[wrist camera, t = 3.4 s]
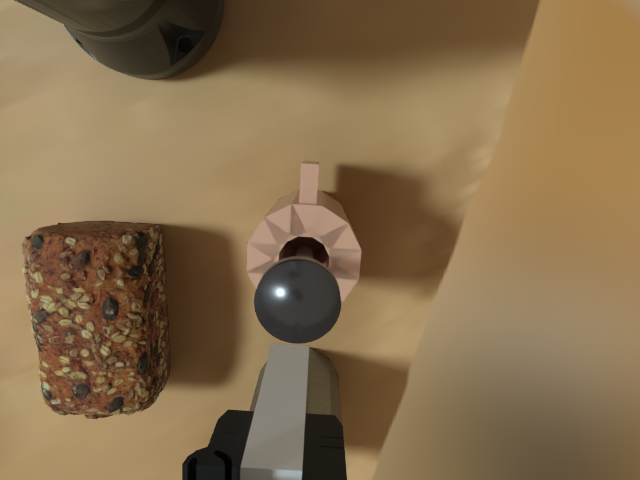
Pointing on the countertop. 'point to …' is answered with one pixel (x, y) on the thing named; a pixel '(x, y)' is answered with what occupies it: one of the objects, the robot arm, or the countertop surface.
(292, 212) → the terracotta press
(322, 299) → the glossy charcoal round knob
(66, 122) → the countertop surface
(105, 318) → the bread
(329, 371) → the faceted cylinder
